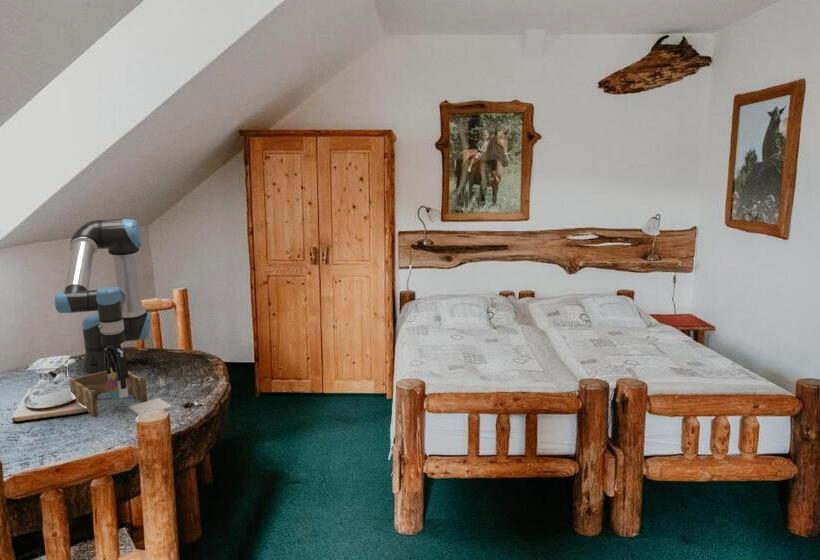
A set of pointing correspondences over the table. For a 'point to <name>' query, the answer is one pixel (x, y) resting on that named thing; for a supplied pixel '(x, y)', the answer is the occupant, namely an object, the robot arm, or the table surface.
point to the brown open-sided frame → (103, 389)
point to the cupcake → (114, 386)
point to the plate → (150, 406)
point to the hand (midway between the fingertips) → (118, 393)
